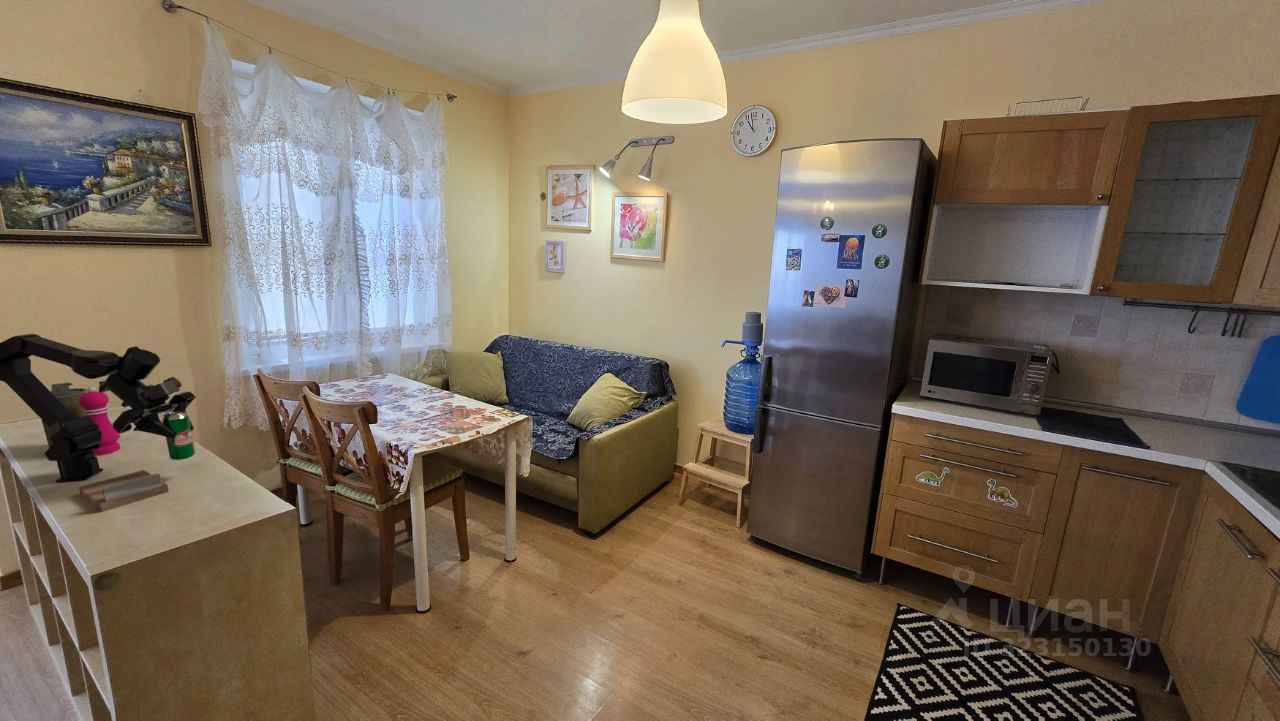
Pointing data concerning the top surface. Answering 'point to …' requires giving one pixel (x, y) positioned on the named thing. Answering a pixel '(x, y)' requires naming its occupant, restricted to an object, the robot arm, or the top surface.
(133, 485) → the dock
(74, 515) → the top surface
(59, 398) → the canister
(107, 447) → the pepper mill
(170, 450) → the soda can
